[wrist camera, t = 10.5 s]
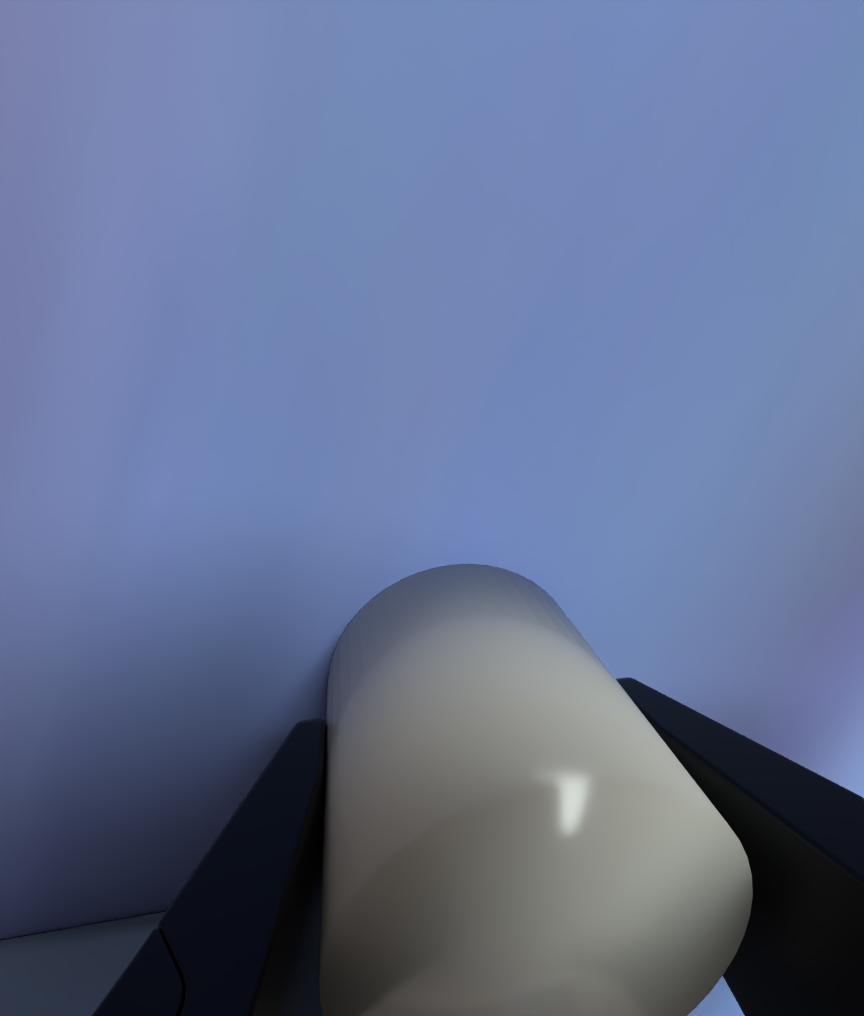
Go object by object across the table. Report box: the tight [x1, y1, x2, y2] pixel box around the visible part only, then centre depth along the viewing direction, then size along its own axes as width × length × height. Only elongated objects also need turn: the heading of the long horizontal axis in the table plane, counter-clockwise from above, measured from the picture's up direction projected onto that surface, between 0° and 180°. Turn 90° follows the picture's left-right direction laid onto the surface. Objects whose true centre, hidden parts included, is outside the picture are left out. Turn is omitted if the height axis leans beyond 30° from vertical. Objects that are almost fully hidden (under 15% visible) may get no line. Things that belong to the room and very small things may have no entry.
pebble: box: [319, 564, 753, 1016], centre depth 8 cm, size 4×4×4 cm
